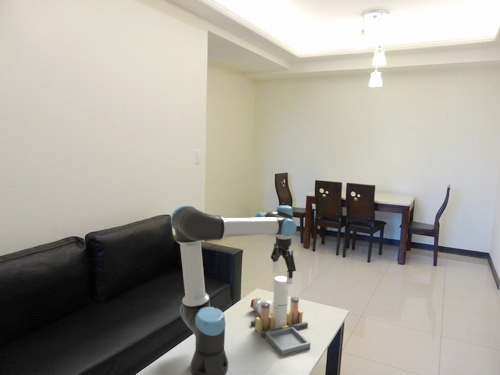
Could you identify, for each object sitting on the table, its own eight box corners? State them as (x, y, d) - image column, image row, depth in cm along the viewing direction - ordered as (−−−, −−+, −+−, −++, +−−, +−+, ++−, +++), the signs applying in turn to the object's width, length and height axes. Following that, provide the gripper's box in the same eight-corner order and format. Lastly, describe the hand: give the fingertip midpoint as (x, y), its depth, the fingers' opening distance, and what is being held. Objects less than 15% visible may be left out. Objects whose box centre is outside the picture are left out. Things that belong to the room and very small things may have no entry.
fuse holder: (262, 337, 164) (262, 325, 163) (250, 324, 175) (251, 313, 174) (307, 327, 175) (308, 315, 174) (294, 315, 186) (294, 304, 186)
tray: (281, 355, 151) (281, 350, 150) (265, 337, 164) (265, 332, 164) (310, 348, 157) (310, 343, 157) (292, 331, 170) (292, 326, 170)
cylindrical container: (285, 330, 171) (288, 282, 168) (271, 328, 172) (273, 280, 169) (286, 323, 178) (289, 276, 175) (273, 321, 179) (275, 275, 176)
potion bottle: (271, 324, 179) (253, 315, 191) (282, 309, 184) (263, 302, 195) (262, 313, 175) (244, 304, 187) (273, 298, 180) (255, 291, 192)
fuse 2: (292, 325, 176) (293, 301, 174) (287, 321, 180) (289, 297, 178) (299, 323, 178) (300, 299, 176) (294, 320, 182) (295, 296, 180)
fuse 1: (262, 332, 169) (263, 307, 167) (258, 328, 173) (259, 303, 171) (270, 330, 171) (271, 305, 169) (266, 326, 174) (267, 301, 173)
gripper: (304, 243, 160) (302, 287, 163) (277, 230, 182) (276, 268, 185) (290, 245, 156) (288, 289, 159) (265, 231, 179) (263, 270, 182)
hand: (281, 278), depth 172 cm, fingers open, 13 cm apart
